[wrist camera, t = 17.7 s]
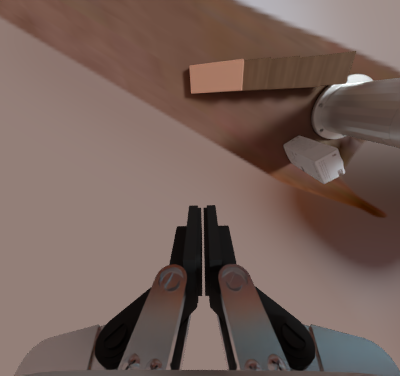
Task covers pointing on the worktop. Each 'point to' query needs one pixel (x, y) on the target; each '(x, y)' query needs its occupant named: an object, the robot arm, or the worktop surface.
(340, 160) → the skincare box
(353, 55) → the domino
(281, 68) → the domino
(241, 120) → the worktop surface
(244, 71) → the domino
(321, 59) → the domino
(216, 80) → the end tile
